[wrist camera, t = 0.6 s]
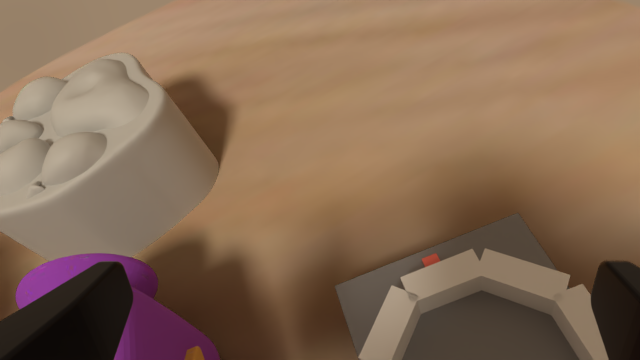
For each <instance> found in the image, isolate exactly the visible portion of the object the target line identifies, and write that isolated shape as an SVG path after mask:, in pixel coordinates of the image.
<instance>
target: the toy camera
mask: <svg viewBox="0 0 640 360" xmlns="http://www.w3.org/2000/svg"><path fill="white" fill-rule="evenodd" d="M101 261H118V262H120V263H122V264H123V266H124V268H125V271H126V274H127V277H128V279H129V282H130V285H131V288H132V291H133V304H132V307H131V310H130V313H129V316H128V319H127V322H126V325H125V328H124V331H123V334H122V337H121V340H120V343H119V346H118V349H117V352H116V355H115V358H114V360H220V357H219V354H218V351H217V349H216V347H215V345H214V344H213V343H212V341H211V340H210V339H209V338H208V337H207V336H205V335H204V334H203V333H202V332H200V331H199V330H198V329H197V328H195V327H194V326H192V325H191V324H189V323H188V322H187V321H185V320H184V319H182V318H181V317H180V316H178V315H177V314H175V313H174V312H172V311H171V310H169V309H168V308H166V307H165V306H163V305H162V304H160V303H158V302H157V301H155V300H154V299H153V298H154V296H155V294H156V292H157V288H158V279H157V276H156V274H155V272H154V271H153V269H152V268H151V267H150V266H148V265H147V264H145V263H144V262H142V261H139V260H137V259H134V258H131V257H127V256H123V255H117V254H107V253H89V254H78V255H72V256H67V257H62V258H58V259H55V260H52V261H49V262H47V263H44V264H42V265H40V266H38V267H37V268H35V269H33V270H32V271H30V272H29V273H28V274H27V275H26V276H25V277H24V278H23V279H22V280H21V281H20V283H19V285H18V287H17V290H16V302H17V305H18V307H19V309H22V308H23V307H25V306H26V305H28V304H30V303H31V302H33V301H35V300H36V299H38V298H40V297H41V296H43V295H45V294H46V293H48V292H50V291H51V290H53V289H55V288H56V287H58V286H60V285H61V284H63V283H64V282H66V281H68V280H69V279H71V278H73V277H74V276H76V275H78V274H79V273H81V272H83V271H84V270H86V269H88V268H89V267H91V266H93V265H94V264H96V263H98V262H101Z"/></svg>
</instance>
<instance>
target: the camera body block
mask: <svg viewBox="0 0 640 360" xmlns="http://www.w3.org/2000/svg"><path fill="white" fill-rule="evenodd" d="M569 279H570V275H569V274H566V273H562V272H559V271H558V270H557V269H556V267H555V266H554V265H553V263H552V262H551V260H550V259H549V257H548V256H547V254H546V253H545V251H544V250H543V248H542V247H541V246H540V244H539V243H538V241H537V240H536V238H535V237H534V235H533V234H532V232H531V231H530V229H529V228H528V227H527V225H526V224H525V222H524V221H523V219H522V218H521V216H520V215H519V213H516V214H513V215H511V216H508V217H506V218H503V219H501V220H498V221H496V222H493V223H491V224H488V225H486V226H483V227H481V228H478V229H476V230H473V231H471V232H468V233H466V234H463V235H461V236H458V237H456V238H453V239H451V240H448V241H446V242H443V243H441V244H438V245H436V246H433V247H431V248H428V249H426V250H423V251H421V252H418V253H416V254H413V255H411V256H408V257H406V258H403V259H401V260H398V261H396V262H393V263H391V264H388V265H386V266H383V267H381V268H378V269H376V270H373V271H371V272H368V273H366V274H363V275H361V276H358V277H356V278H353V279H351V280H348V281H346V282H343V283H341V284H338V285H336V286H335V289H336V292H337V295H338V298H339V301H340V304H341V307H342V310H343V313H344V316H345V319H346V322H347V325H348V328H349V332H350V335H351V338H352V341H353V344H354V347H355V350H356V353H357V356H358V359H359V360H609V359H608V356H607V353H606V350H605V347H604V344H603V341H602V338H601V335H600V332H599V329H598V326H597V323H596V320H595V317H594V314H593V311H592V307H591V295H590V293H589V292H588V290H587V289H586V288H585V286H584V285H583V284H580V285H578V286H575V287H573V288H569V286H568V282H569Z"/></svg>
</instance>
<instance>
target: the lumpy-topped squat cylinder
mask: <svg viewBox="0 0 640 360" xmlns="http://www.w3.org/2000/svg"><path fill="white" fill-rule="evenodd" d="M218 171H219V164H218V161H217V159H216V158H215V156H214V155H213V154H212V152H211V151H210V150H209V148H208V147H207V146H206V144H205V143H204V142H203V140H202V139H201V138H200V136H199V135H198V133H197V132H196V131H195V129H194V128H193V127H192V125H191V124H190V123H189V121H188V120H187V119H186V117H185V116H184V115H183V113H182V112H181V111H180V109H179V108H178V107H177V105H176V104H175V103H174V102H173V100H172V99H171V98H170V96H169V95H168V93H167V92H166V91H165V89H164V88H163V87H162V86H161V85H160V84H158V83H157V82H155V81H154V80H153V79H152V78H151V77H150V75H149V74H148V73H147V72H146V70H145V69H144V68H143V67H142V65H141V64H140V62H139V61H138V60H137V59H136V58H135V57H134V56H133V55H131V54H128V53H115V54H111V55H107V56H104V57H101V58H98V59H96V60H93V61H91V62H89V63H87V64H86V65H84V66H82V67H81V68H79V69H77V70H76V71H74V72H73V73H71V74H70V75H68V76H66V77H65V78H63V79H58V78H54V77H41V78H38V79H35V80H33V81H31V82H30V83H28V84H27V85H25V86H24V87H23V88H22V90H21V91H20V93H19V95H18V96H17V99H16V101H15V103H14V107H13V116H9V117H7V118H5V119H4V120H3V122H2V123H1V124H0V232H2V233H4V234H5V235H7V236H9V237H10V238H12V239H13V240H15V241H17V242H18V243H20V244H22V245H23V246H25V247H27V248H28V249H30V250H32V251H33V252H35V253H37V254H38V255H40V256H41V257H43V258H45V259H46V260H48V261H52V260H55V259H58V258H62V257H67V256H72V255H78V254H89V253H107V254H117V255H123V256H127V257H132V256H134V255H136V254H137V253H139V252H140V251H142V250H143V249H145V248H146V247H148V246H149V245H150V244H152V243H153V242H155V241H156V240H157V239H159V238H160V237H161V236H163V235H164V234H165V233H166V232H168V231H169V230H170V229H171V228H173V227H174V226H175V225H176V224H177V223H179V222H180V221H181V220H182V219H183V218H184V217H185V216H186V215H187V214H189V213H190V212H191V211H192V210H193V209H194V208H195V207H196V206H197V205H199V204H200V203H201V202H202V200H203V199H204V198H205V197H206V196H207V195H208V193H209V192H210V190H211V189H212V187H213V185H214V183H215V181H216V179H217V176H218Z"/></svg>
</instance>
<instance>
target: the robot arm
mask: <svg viewBox="0 0 640 360" xmlns="http://www.w3.org/2000/svg"><path fill="white" fill-rule="evenodd" d="M132 304H133V291H132V288H131V285H130V282H129V279H128V277H127V274H126V271H125V268H124V266H123V264H122V263H120V262H118V261H101V262H98V263H96V264H94V265H93V266H91V267H89V268H88V269H86V270H84V271H83V272H81V273H79V274H78V275H76V276H74V277H73V278H71V279H69V280H68V281H66V282H64V283H63V284H61V285H60V286H58V287H56V288H55V289H53V290H51V291H50V292H48V293H46V294H45V295H43V296H41V297H40V298H38V299H36V300H35V301H33V302H31V303H30V304H28V305H26V306H25V307H23V308H22V309H20V310H18V311H17V312H15V313H13V314H12V315H10V316H8V317H7V318H5V319H3V320H2V321H0V360H114V358H115V355H116V352H117V349H118V346H119V343H120V340H121V337H122V334H123V331H124V328H125V325H126V322H127V319H128V316H129V313H130V310H131V307H132ZM591 307H592V311H593V314H594V317H595V320H596V323H597V326H598V329H599V332H600V335H601V338H602V341H603V344H604V347H605V350H606V353H607V356H608V359H609V360H640V268H639V267H638V266H636V265H634V264H633V263H631V262H628V261H603V262H602V263H601V264H600V265H599V268H598V271H597V275H596V278H595V282H594V285H593V289H592V293H591Z"/></svg>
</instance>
